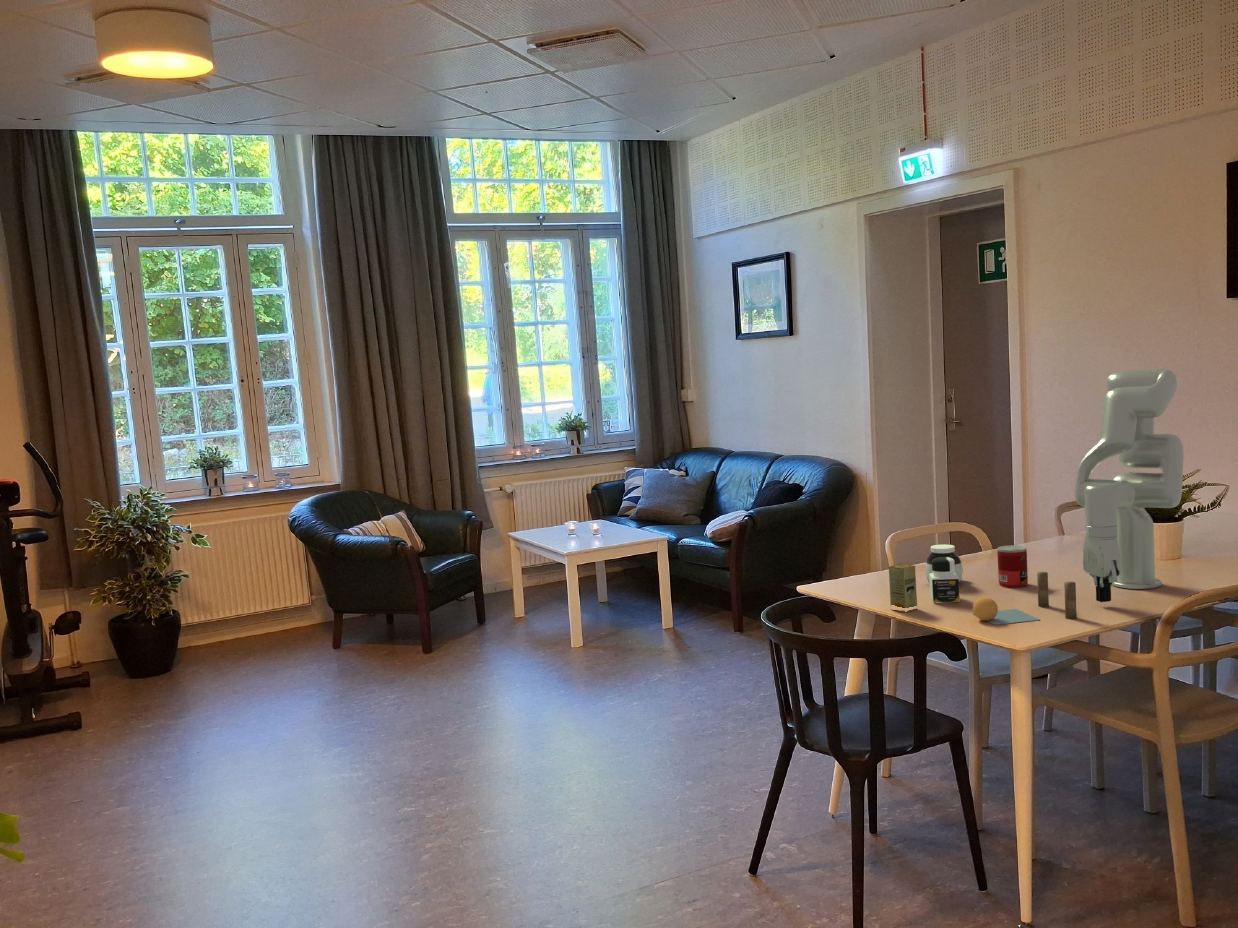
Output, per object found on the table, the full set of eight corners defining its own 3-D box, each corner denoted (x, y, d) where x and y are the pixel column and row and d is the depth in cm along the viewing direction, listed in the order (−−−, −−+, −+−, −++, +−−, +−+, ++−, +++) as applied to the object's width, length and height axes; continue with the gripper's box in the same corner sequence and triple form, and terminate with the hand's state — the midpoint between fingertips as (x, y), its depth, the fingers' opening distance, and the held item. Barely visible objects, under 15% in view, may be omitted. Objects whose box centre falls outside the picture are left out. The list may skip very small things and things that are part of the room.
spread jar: (930, 589, 299) (929, 550, 298) (920, 580, 310) (918, 543, 309) (972, 586, 298) (970, 547, 297) (960, 578, 310) (958, 540, 309)
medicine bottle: (933, 603, 282) (931, 561, 281) (930, 597, 289) (928, 556, 288) (960, 602, 280) (958, 560, 279) (956, 596, 287) (954, 555, 286)
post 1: (1036, 605, 272) (1035, 572, 271) (1045, 604, 272) (1044, 571, 271) (1041, 607, 269) (1040, 574, 268) (1050, 606, 269) (1049, 573, 268)
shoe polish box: (890, 609, 278) (888, 566, 277) (902, 606, 281) (900, 563, 280) (905, 612, 275) (903, 568, 273) (917, 608, 278) (915, 565, 276)
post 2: (1063, 616, 259) (1062, 582, 258) (1073, 615, 259) (1071, 581, 258) (1069, 619, 256) (1067, 584, 255) (1078, 618, 256) (1077, 583, 256)
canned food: (1027, 588, 291) (1025, 550, 290) (997, 587, 294) (996, 550, 293) (1028, 582, 298) (1027, 545, 297) (999, 581, 301) (998, 545, 300)
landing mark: (973, 614, 268) (972, 613, 268) (1016, 609, 269) (1016, 608, 269) (995, 625, 256) (995, 624, 256) (1040, 620, 257) (1040, 619, 257)
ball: (964, 607, 263) (979, 590, 263) (980, 622, 264) (995, 605, 264) (975, 612, 257) (990, 594, 257) (991, 627, 258) (1006, 610, 258)
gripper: (1071, 528, 271) (1074, 596, 272) (1105, 537, 256) (1107, 609, 257) (1098, 526, 271) (1100, 593, 273) (1132, 534, 257) (1134, 605, 258)
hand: (1103, 600), depth 265 cm, fingers closed
